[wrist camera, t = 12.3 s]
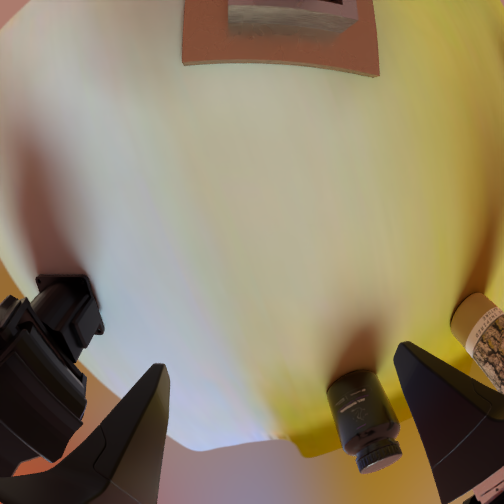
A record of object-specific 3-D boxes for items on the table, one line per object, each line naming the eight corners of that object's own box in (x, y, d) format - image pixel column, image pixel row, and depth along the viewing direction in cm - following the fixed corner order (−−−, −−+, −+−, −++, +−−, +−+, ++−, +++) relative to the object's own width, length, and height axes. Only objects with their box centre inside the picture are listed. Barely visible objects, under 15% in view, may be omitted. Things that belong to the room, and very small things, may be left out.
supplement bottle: (340, 367, 28) (376, 455, 17) (385, 367, 29) (424, 442, 18) (316, 402, 31) (339, 482, 20) (359, 401, 32) (387, 471, 21)
